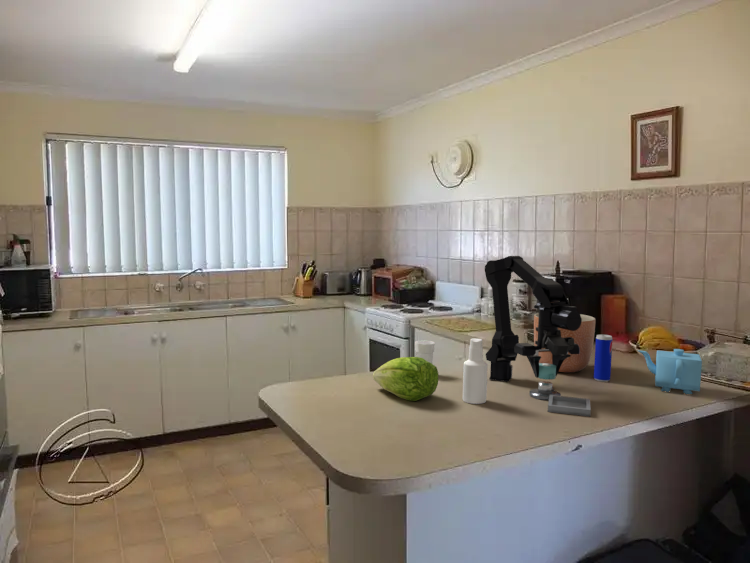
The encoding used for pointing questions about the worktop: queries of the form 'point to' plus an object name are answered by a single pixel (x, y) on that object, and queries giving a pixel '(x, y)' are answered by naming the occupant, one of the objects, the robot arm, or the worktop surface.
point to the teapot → (676, 370)
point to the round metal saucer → (543, 391)
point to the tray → (569, 405)
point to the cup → (425, 350)
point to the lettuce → (408, 377)
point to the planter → (581, 337)
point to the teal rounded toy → (547, 371)
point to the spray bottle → (475, 374)
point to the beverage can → (603, 358)
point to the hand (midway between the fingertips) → (545, 376)
